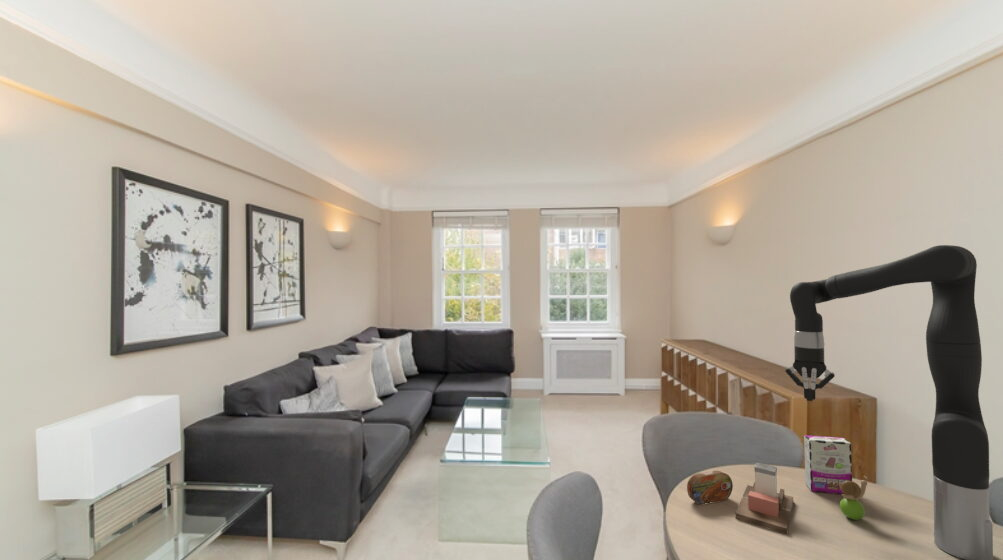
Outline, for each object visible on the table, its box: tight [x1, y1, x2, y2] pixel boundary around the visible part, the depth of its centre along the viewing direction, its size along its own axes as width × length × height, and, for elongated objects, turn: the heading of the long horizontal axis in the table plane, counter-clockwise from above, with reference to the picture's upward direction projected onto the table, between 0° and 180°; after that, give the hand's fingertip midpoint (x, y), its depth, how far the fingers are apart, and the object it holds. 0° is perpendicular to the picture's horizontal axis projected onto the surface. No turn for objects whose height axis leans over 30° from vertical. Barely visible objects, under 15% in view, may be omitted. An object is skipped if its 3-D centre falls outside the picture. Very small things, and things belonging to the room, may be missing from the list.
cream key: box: [754, 462, 778, 498], centre depth 122 cm, size 5×4×10 cm
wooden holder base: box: [735, 481, 794, 535], centre depth 121 cm, size 12×20×4 cm, turn 141°
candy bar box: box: [803, 434, 853, 496], centre depth 131 cm, size 11×5×16 cm, turn 73°
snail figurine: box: [839, 475, 868, 521], centre depth 116 cm, size 5×6×12 cm
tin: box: [686, 470, 734, 506], centre depth 126 cm, size 15×3×8 cm, turn 105°
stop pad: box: [748, 491, 779, 518], centre depth 118 cm, size 7×3×4 cm, turn 51°
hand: (809, 400), depth 130 cm, fingers closed
